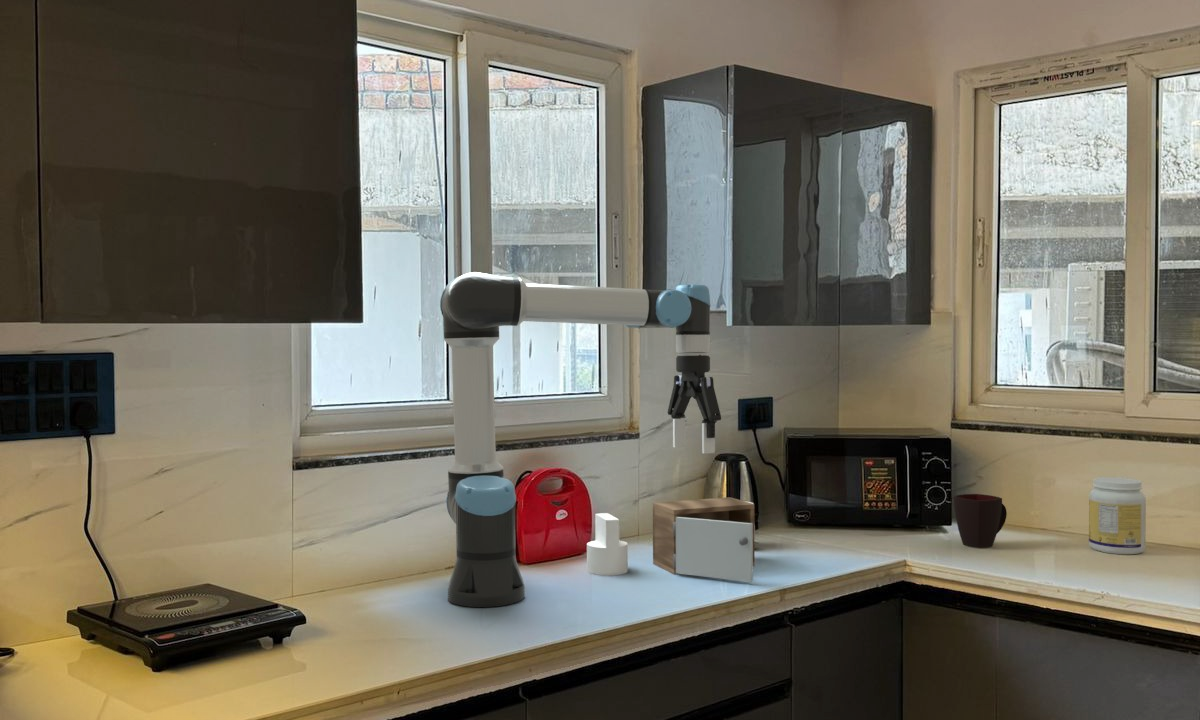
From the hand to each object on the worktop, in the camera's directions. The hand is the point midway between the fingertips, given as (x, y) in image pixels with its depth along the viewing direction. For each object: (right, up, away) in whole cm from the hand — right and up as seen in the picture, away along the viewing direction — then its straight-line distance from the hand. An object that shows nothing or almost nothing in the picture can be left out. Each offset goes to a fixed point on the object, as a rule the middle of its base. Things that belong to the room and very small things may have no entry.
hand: (693, 450), depth 223 cm
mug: (+74, -26, +25) cm, 82 cm away
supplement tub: (+103, -26, +18) cm, 108 cm away
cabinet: (+3, -26, +4) cm, 27 cm away
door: (+3, -26, -10) cm, 28 cm away
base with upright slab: (-19, -27, -1) cm, 33 cm away
